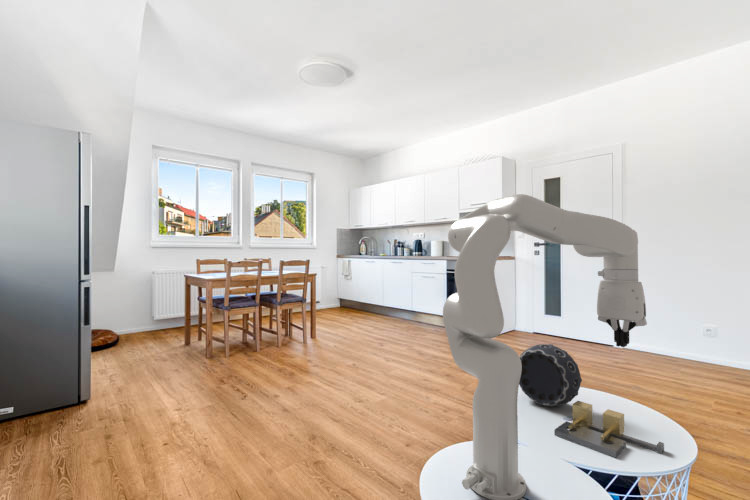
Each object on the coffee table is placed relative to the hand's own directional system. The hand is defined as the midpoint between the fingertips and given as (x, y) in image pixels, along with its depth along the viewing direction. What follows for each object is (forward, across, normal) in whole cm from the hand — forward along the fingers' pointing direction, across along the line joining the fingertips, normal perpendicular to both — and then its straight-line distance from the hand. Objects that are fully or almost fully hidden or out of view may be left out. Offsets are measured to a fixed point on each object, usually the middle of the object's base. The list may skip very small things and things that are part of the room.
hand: (621, 345), depth 94 cm
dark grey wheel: (+27, -26, +14) cm, 40 cm away
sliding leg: (+26, -4, +2) cm, 26 cm away
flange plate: (+27, -8, -2) cm, 28 cm away
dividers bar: (+27, -3, +2) cm, 27 cm away
